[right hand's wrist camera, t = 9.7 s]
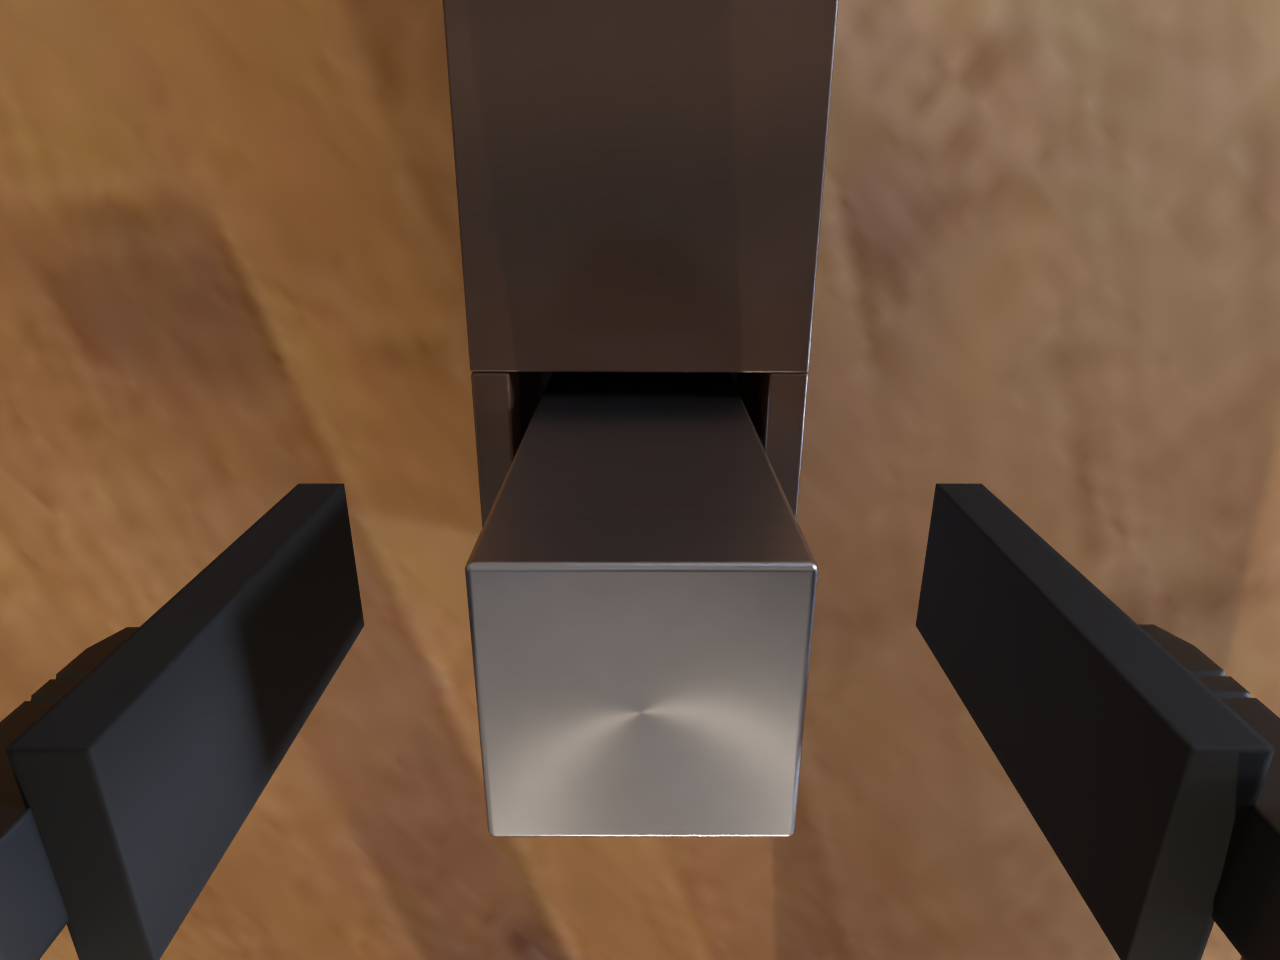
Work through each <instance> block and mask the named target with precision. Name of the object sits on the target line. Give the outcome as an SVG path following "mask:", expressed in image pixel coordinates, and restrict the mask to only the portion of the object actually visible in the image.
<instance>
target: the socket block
mask: <svg viewBox="0 0 1280 960" xmlns="http://www.w3.org/2000/svg"><path fill="white" fill-rule="evenodd" d="M443 11H444V24H445V37H446V51H447V64H448V78H449V91H450V104H451V118H452V131H453V145H454V158H455V171H456V185H457V198H458V212H459V225H460V238H461V252H462V265H463V279H464V292H465V305H466V319H467V332H468V346H469V359H470V370H471V371H473V372H472V375H471V380H472V394H473V407H474V421H475V434H476V448H477V461H478V474H479V488H480V501H481V515H482V528H483V526H484V524H485V522H486V519H487V517H488V515H489V513H490V510H491V508H492V506H493V504H494V501H495V499H496V497H497V495H498V493H499V490H500V488H501V486H502V484H503V481H504V479H505V477H506V475H507V472H508V470H509V468H510V466H511V463H512V461H513V459H514V457H515V455H516V452H517V450H518V448H519V446H520V443H521V441H522V439H523V437H524V434H525V432H526V430H527V428H528V426H529V423H530V421H531V419H532V417H533V414H534V412H535V410H536V408H537V405H538V403H539V401H540V399H541V397H542V394H543V392H544V390H545V388H546V385H547V383H548V381H549V379H550V376H551V374H552V372H729V373H730V375H731V377H732V379H733V382H734V384H735V386H736V388H737V390H738V393H739V395H740V397H741V399H742V401H743V404H744V406H745V408H746V410H747V412H748V415H749V417H750V419H751V421H752V423H753V426H754V428H755V430H756V432H757V434H758V437H759V439H760V441H761V443H762V445H763V448H764V450H765V452H766V454H767V456H768V459H769V461H770V463H771V465H772V467H773V470H774V472H775V474H776V476H777V478H778V481H779V483H780V485H781V487H782V489H783V492H784V494H785V496H786V498H787V500H788V503H789V505H790V507H791V509H792V511H793V514H794V516H795V518H796V519H797V507H798V494H799V482H800V469H801V457H802V445H803V432H804V420H805V407H806V395H807V383H808V374H807V372H808V370H809V358H810V345H811V333H812V321H813V308H814V296H815V283H816V271H817V259H818V246H819V234H820V221H821V209H822V197H823V184H824V172H825V159H826V147H827V135H828V122H829V110H830V97H831V85H832V73H833V60H834V48H835V35H836V23H837V11H838V0H443Z"/></svg>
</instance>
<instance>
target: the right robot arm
mask: <svg viewBox="0 0 1280 960" xmlns="http://www.w3.org/2000/svg"><path fill="white" fill-rule="evenodd" d="M363 627H364V620H363V613H362V606H361V599H360V592H359V585H358V578H357V571H356V564H355V557H354V550H353V543H352V536H351V530H350V523H349V516H348V509H347V502H346V495H345V488H344V484H298V485H297V486H296V487H294V488H293V489H292V490H291V491H290V492H289V493H288V494H287V495H286V496H284V497H283V498H282V499H281V500H280V501H279V502H278V503H277V504H276V505H274V506H273V507H272V508H271V509H270V510H269V511H268V512H267V513H266V514H264V515H263V516H262V517H261V518H260V519H259V520H258V521H257V522H256V523H255V524H253V525H252V526H251V527H250V528H249V529H248V530H247V531H246V532H245V533H243V534H242V535H241V536H240V537H239V538H238V539H237V540H236V541H235V542H233V543H232V544H231V545H230V546H229V547H228V548H227V549H226V550H225V551H224V552H222V553H221V554H220V555H219V556H218V557H217V558H216V559H215V560H214V561H212V562H211V563H210V564H209V565H208V566H207V567H206V568H205V569H204V570H202V571H201V572H200V573H199V574H198V575H197V576H196V577H195V578H194V579H192V580H191V581H190V582H189V583H188V584H187V585H186V586H185V587H184V588H183V589H181V590H180V591H179V592H178V593H177V594H176V595H175V596H174V597H173V598H171V599H170V600H169V601H168V602H167V603H166V604H165V605H164V606H163V607H161V608H160V609H159V610H158V611H157V612H156V613H155V614H154V615H153V616H151V617H150V618H149V619H148V620H147V621H146V622H145V623H144V624H143V625H142V626H140V627H127V628H125V629H123V630H121V631H119V632H117V633H115V634H113V635H111V636H110V637H108V638H106V639H104V640H102V641H100V642H98V643H96V644H94V645H93V646H91V647H89V648H87V649H85V650H84V651H83V652H82V653H81V654H80V655H78V656H77V657H76V658H75V659H74V660H73V661H71V662H70V663H69V664H68V665H67V666H66V667H64V668H63V669H62V670H61V671H60V672H59V673H57V674H56V679H50V680H49V681H48V682H47V683H46V684H44V685H43V686H42V687H41V688H40V689H39V690H37V691H36V692H35V693H34V694H33V695H32V696H31V701H25V702H23V703H22V704H21V705H20V706H19V707H18V708H16V709H15V710H14V711H13V712H12V713H11V714H9V715H8V716H7V717H6V718H5V719H4V720H2V721H1V722H0V960H39V959H40V958H41V957H42V955H43V954H44V953H45V951H46V950H47V949H48V948H49V946H50V945H51V944H52V942H53V941H54V940H55V938H56V937H57V936H58V934H59V933H60V932H61V931H62V929H63V928H64V927H65V925H66V924H67V926H68V929H69V932H70V935H71V938H72V941H73V943H74V946H75V949H76V952H77V955H78V958H79V960H159V959H160V958H161V956H162V954H163V953H164V951H165V950H166V948H167V946H168V945H169V943H170V941H171V940H172V938H173V937H174V935H175V933H176V932H177V930H178V928H179V927H180V925H181V923H182V922H183V920H184V919H185V917H186V915H187V914H188V912H189V910H190V909H191V907H192V906H193V904H194V902H195V901H196V899H197V897H198V896H199V894H200V892H201V891H202V889H203V888H204V886H205V884H206V883H207V881H208V879H209V878H210V876H211V875H212V873H213V871H214V870H215V868H216V866H217V865H218V863H219V861H220V860H221V858H222V857H223V855H224V853H225V852H226V850H227V848H228V847H229V845H230V844H231V842H232V840H233V839H234V837H235V835H236V834H237V832H238V830H239V829H240V827H241V826H242V824H243V822H244V821H245V819H246V817H247V816H248V814H249V813H250V811H251V809H252V808H253V806H254V804H255V803H256V801H257V799H258V798H259V796H260V795H261V793H262V791H263V790H264V788H265V786H266V785H267V783H268V782H269V780H270V778H271V777H272V775H273V773H274V772H275V770H276V768H277V767H278V765H279V764H280V762H281V760H282V759H283V757H284V755H285V754H286V752H287V751H288V749H289V747H290V746H291V744H292V742H293V741H294V739H295V737H296V736H297V734H298V733H299V731H300V729H301V728H302V726H303V724H304V723H305V721H306V720H307V718H308V716H309V715H310V713H311V711H312V710H313V708H314V707H315V705H316V703H317V702H318V700H319V698H320V697H321V695H322V693H323V692H324V690H325V689H326V687H327V685H328V684H329V682H330V680H331V679H332V677H333V676H334V674H335V672H336V671H337V669H338V667H339V666H340V664H341V662H342V661H343V659H344V658H345V656H346V654H347V653H348V651H349V649H350V648H351V646H352V645H353V643H354V641H355V640H356V638H357V636H358V635H359V633H360V631H361V630H362V628H363ZM916 627H917V628H918V630H919V631H920V633H921V635H922V636H923V638H924V640H925V641H926V643H927V644H928V646H929V648H930V649H931V651H932V653H933V654H934V656H935V658H936V659H937V661H938V662H939V664H940V666H941V667H942V669H943V671H944V672H945V674H946V675H947V677H948V679H949V680H950V682H951V684H952V685H953V687H954V689H955V690H956V692H957V693H958V695H959V697H960V698H961V700H962V702H963V703H964V705H965V706H966V708H967V710H968V711H969V713H970V715H971V716H972V718H973V720H974V721H975V723H976V724H977V726H978V728H979V729H980V731H981V733H982V734H983V736H984V737H985V739H986V741H987V742H988V744H989V746H990V747H991V749H992V751H993V752H994V754H995V755H996V757H997V759H998V760H999V762H1000V764H1001V765H1002V767H1003V768H1004V770H1005V772H1006V773H1007V775H1008V777H1009V778H1010V780H1011V782H1012V783H1013V785H1014V786H1015V788H1016V790H1017V791H1018V793H1019V795H1020V796H1021V798H1022V799H1023V801H1024V803H1025V804H1026V806H1027V808H1028V809H1029V811H1030V813H1031V814H1032V816H1033V817H1034V819H1035V821H1036V822H1037V824H1038V826H1039V827H1040V829H1041V830H1042V832H1043V834H1044V835H1045V837H1046V839H1047V840H1048V842H1049V844H1050V845H1051V847H1052V848H1053V850H1054V852H1055V853H1056V855H1057V857H1058V858H1059V860H1060V861H1061V863H1062V865H1063V866H1064V868H1065V870H1066V871H1067V873H1068V874H1069V876H1070V878H1071V879H1072V881H1073V883H1074V884H1075V886H1076V888H1077V889H1078V891H1079V892H1080V894H1081V896H1082V897H1083V899H1084V901H1085V902H1086V904H1087V905H1088V907H1089V909H1090V910H1091V912H1092V914H1093V915H1094V917H1095V919H1096V920H1097V922H1098V923H1099V925H1100V927H1101V928H1102V930H1103V932H1104V933H1105V935H1106V936H1107V938H1108V940H1109V941H1110V943H1111V945H1112V946H1113V948H1114V950H1115V951H1116V953H1117V954H1118V956H1119V958H1120V959H1121V960H1201V958H1202V955H1203V952H1204V949H1205V946H1206V943H1207V941H1208V938H1209V935H1210V932H1211V929H1212V926H1213V924H1214V921H1215V922H1216V924H1217V925H1218V926H1219V927H1220V929H1221V930H1222V931H1223V933H1224V934H1225V935H1226V936H1227V938H1228V939H1229V940H1230V942H1231V943H1232V944H1233V946H1234V947H1235V948H1236V949H1237V951H1238V952H1239V953H1240V955H1241V956H1242V957H1241V960H1280V718H1279V717H1278V716H1276V715H1275V714H1274V713H1273V712H1272V711H1271V710H1269V709H1268V708H1267V707H1266V706H1265V705H1264V704H1262V703H1261V702H1260V701H1259V700H1258V699H1256V698H1250V693H1249V692H1248V691H1247V690H1246V689H1245V688H1243V687H1242V686H1241V685H1240V684H1239V683H1238V682H1236V681H1235V680H1234V679H1233V678H1232V677H1226V676H1225V674H1224V673H1225V671H1223V670H1222V669H1221V668H1220V667H1219V666H1218V665H1216V664H1215V663H1214V662H1213V661H1212V660H1210V659H1209V658H1208V657H1207V656H1206V655H1205V654H1203V653H1202V652H1201V651H1200V650H1199V649H1198V648H1196V647H1195V646H1193V645H1192V644H1190V643H1188V642H1186V641H1184V640H1182V639H1180V638H1178V637H1176V636H1174V635H1173V634H1171V633H1169V632H1167V631H1165V630H1163V629H1161V628H1159V627H1157V626H1155V625H1137V624H1136V623H1135V622H1134V621H1133V620H1132V619H1131V618H1130V617H1129V616H1127V615H1126V614H1125V613H1124V612H1123V611H1122V610H1121V609H1120V608H1119V607H1117V606H1116V605H1115V604H1114V603H1113V602H1112V601H1111V600H1110V599H1109V598H1107V597H1106V596H1105V595H1104V594H1103V593H1102V592H1101V591H1100V590H1099V589H1098V588H1096V587H1095V586H1094V585H1093V584H1092V583H1091V582H1090V581H1089V580H1088V579H1086V578H1085V577H1084V576H1083V575H1082V574H1081V573H1080V572H1079V571H1078V570H1076V569H1075V568H1074V567H1073V566H1072V565H1071V564H1070V563H1069V562H1068V561H1066V560H1065V559H1064V558H1063V557H1062V556H1061V555H1060V554H1059V553H1058V552H1057V551H1055V550H1054V549H1053V548H1052V547H1051V546H1050V545H1049V544H1048V543H1047V542H1045V541H1044V540H1043V539H1042V538H1041V537H1040V536H1039V535H1038V534H1037V533H1035V532H1034V531H1033V530H1032V529H1031V528H1030V527H1029V526H1028V525H1027V524H1025V523H1024V522H1023V521H1022V520H1021V519H1020V518H1019V517H1018V516H1017V515H1016V514H1014V513H1013V512H1012V511H1011V510H1010V509H1009V508H1008V507H1007V506H1006V505H1004V504H1003V503H1002V502H1001V501H1000V500H999V499H998V498H997V497H996V496H994V495H993V494H992V493H991V492H990V491H989V490H988V489H987V488H986V487H985V486H983V485H982V484H936V488H935V495H934V502H933V509H932V516H931V523H930V530H929V537H928V544H927V551H926V557H925V564H924V571H923V578H922V585H921V592H920V599H919V606H918V613H917V620H916Z"/></svg>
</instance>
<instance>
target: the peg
mask: <svg viewBox="0 0 1280 960" xmlns="http://www.w3.org/2000/svg"><path fill="white" fill-rule="evenodd" d="M817 573H818V567H817V565H816V562H815V560H814V558H813V555H812V553H811V551H810V549H809V547H808V544H807V542H806V540H805V538H804V536H803V533H802V531H801V529H800V527H799V525H798V522H797V520H796V518H795V516H794V514H793V511H792V509H791V507H790V505H789V503H788V500H787V498H786V496H785V494H784V492H783V489H782V487H781V485H780V483H779V481H778V478H777V476H776V474H775V472H774V470H773V467H772V465H771V463H770V461H769V459H768V456H767V454H766V452H765V450H764V448H763V445H762V443H761V441H760V439H759V437H758V434H757V432H756V430H755V428H754V426H753V423H752V421H751V419H750V417H749V415H748V412H747V410H746V408H745V406H744V404H743V401H742V399H741V397H740V395H739V393H738V390H737V388H736V386H735V384H734V382H733V379H732V377H731V375H730V373H729V372H552V374H551V376H550V379H549V381H548V383H547V385H546V388H545V390H544V392H543V394H542V397H541V399H540V401H539V403H538V405H537V408H536V410H535V412H534V414H533V417H532V419H531V421H530V423H529V426H528V428H527V430H526V432H525V434H524V437H523V439H522V441H521V443H520V446H519V448H518V450H517V452H516V455H515V457H514V459H513V461H512V463H511V466H510V468H509V470H508V472H507V475H506V477H505V479H504V481H503V484H502V486H501V488H500V490H499V493H498V495H497V497H496V499H495V501H494V504H493V506H492V508H491V510H490V513H489V515H488V517H487V519H486V522H485V524H484V526H483V528H482V530H481V533H480V535H479V537H478V539H477V542H476V544H475V546H474V548H473V551H472V553H471V555H470V557H469V559H468V562H467V564H466V567H465V574H466V586H467V597H468V608H469V620H470V631H471V642H472V654H473V665H474V676H475V688H476V699H477V710H478V721H479V733H480V744H481V755H482V767H483V778H484V789H485V801H486V812H487V823H488V830H489V833H490V835H491V836H494V837H789V836H792V834H793V832H794V829H795V817H796V806H797V795H798V784H799V773H800V762H801V751H802V740H803V728H804V717H805V706H806V695H807V684H808V673H809V662H810V651H811V639H812V628H813V617H814V606H815V595H816V584H817Z"/></svg>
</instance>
